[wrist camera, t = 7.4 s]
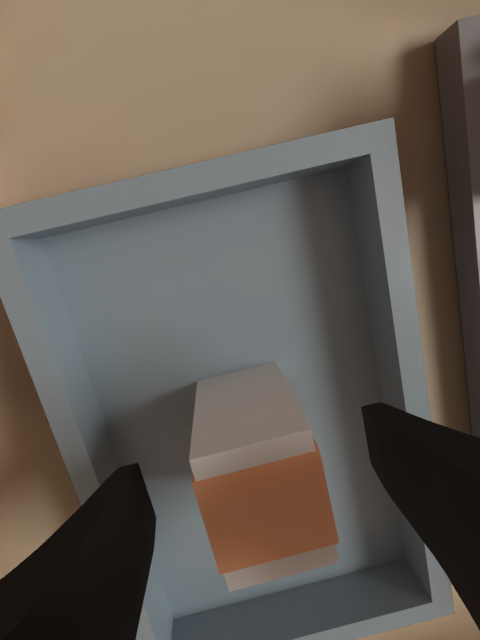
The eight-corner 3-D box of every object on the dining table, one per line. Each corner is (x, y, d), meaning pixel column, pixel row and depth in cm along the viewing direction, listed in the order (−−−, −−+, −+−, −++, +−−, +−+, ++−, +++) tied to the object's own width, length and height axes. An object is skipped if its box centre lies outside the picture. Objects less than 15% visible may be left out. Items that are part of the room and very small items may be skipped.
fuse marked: (299, 453, 15) (343, 561, 10) (220, 474, 14) (225, 593, 10) (278, 360, 14) (315, 428, 9) (194, 382, 14) (184, 461, 9)
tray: (419, 558, 17) (454, 613, 14) (161, 625, 16) (153, 692, 14) (359, 140, 13) (393, 117, 10) (16, 220, 12) (-31, 215, 10)
